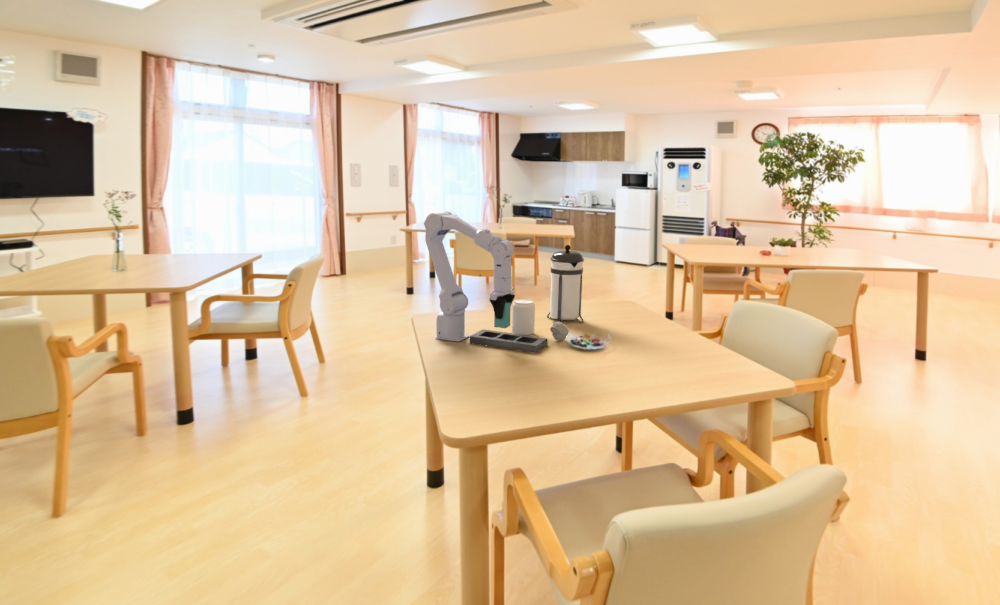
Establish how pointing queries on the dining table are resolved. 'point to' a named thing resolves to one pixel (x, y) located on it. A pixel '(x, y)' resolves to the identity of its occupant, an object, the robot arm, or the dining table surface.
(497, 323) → the square peg
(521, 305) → the beverage can
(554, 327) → the grey lumpy piece
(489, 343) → the rail
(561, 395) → the dining table surface
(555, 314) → the coffee press
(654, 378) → the dining table surface
